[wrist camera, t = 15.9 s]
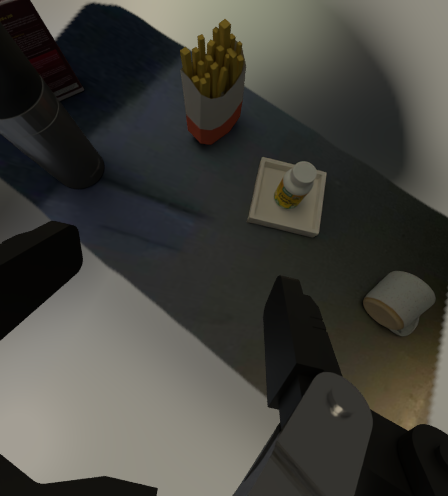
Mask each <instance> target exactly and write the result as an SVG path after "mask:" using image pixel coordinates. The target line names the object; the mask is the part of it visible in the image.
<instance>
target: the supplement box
mask: <svg viewBox="0 0 448 496" xmlns="http://www.w3.org/2000/svg"><path fill="white" fill-rule="evenodd" d="M0 22H1V23H2V25H3V26H4V27H5V29H6V30H7V31H8V33H9V34H10V36H11V37H12V38H13V40H14V41H15V42H16V44H17V45H18V46H19V48H20V49H21V51H22V52H23V53H24V55H25V56H26V57H27V59H28V60H29V61H30V63H31V64H32V65H33V67H34V68H35V69H36V71H37V72H38V73H39V75H40V76H41V77H42V79H43V80H44V81H45V83H46V84H47V85H48V87H49V88H50V89H51V91H52V92H53V93H54V95H55V96H56V97H57V99H58V100H59V101H61V100H63V99H65V98H68V97H70V96H72V95H75V94H77V93H79V92H82V91H84V89H83V87H82V85H81V83H80V82H79V80H78V78H77V77H76V75H75V73H74V72H73V70H72V68H71V67H70V65H69V63H68V62H67V60H66V58H65V57H64V55H63V53H62V52H61V50H60V48H59V47H58V45H57V44H56V42H55V40H54V39H53V37H52V35H51V34H50V32H49V30H48V29H47V27H46V26H45V24H44V22H43V21H42V19H41V18H40V16H39V14H38V12H37V11H36V9H35V7H34V6H33V4H32V2H31V1H30V0H0Z"/></svg>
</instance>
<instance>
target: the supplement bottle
mask: <svg viewBox="0 0 448 496" xmlns="http://www.w3.org/2000/svg"><path fill="white" fill-rule="evenodd" d="M316 176H317V172H316V169H315V167H314V166H313V165H312V164H311V163H309V162H304V161H303V162H299V163H297V164H296V165H295V166H294V167H293V168H291V169H290V170H288V171H287V172H286V173H285V175H284V177H283V178H282V180H281V182H280V184H279V185H278V187H277V189H276V191H275V193H274V201H275V203H276V205H277V206H278V207H280V208H281V209H284V210H290V209H293V208H295V207H296V206H297V205H298V204H299V203H300V202H301V201H302V200H303V199H304V197H305V196H306V195H307V194H308V193H309V192H310V191H311V189H312V187H313V184H314V180H315V178H316Z"/></svg>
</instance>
